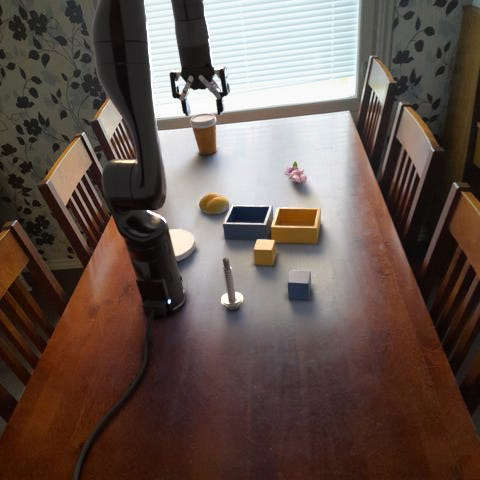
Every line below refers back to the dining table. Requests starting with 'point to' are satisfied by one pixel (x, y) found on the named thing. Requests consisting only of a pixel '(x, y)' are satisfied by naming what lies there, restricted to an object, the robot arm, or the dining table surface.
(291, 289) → the blue block
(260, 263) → the ochre block
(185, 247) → the plastic lid
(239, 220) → the blue bin
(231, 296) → the screw
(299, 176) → the pink flower bud
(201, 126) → the disposable coffee cup
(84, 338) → the dining table surface
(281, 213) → the ochre bin
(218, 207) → the bread roll
